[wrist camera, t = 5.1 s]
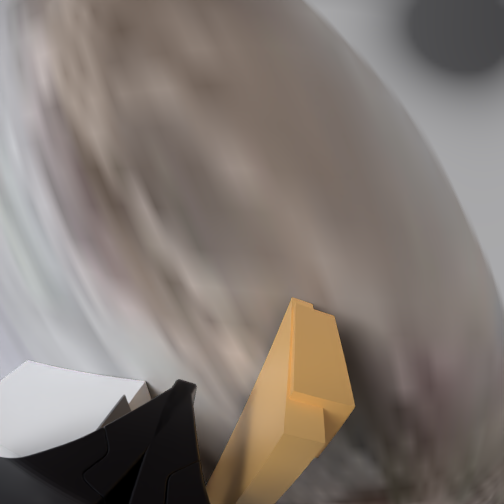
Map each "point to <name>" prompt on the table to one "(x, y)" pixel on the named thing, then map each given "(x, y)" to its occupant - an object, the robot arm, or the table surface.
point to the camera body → (60, 406)
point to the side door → (286, 411)
